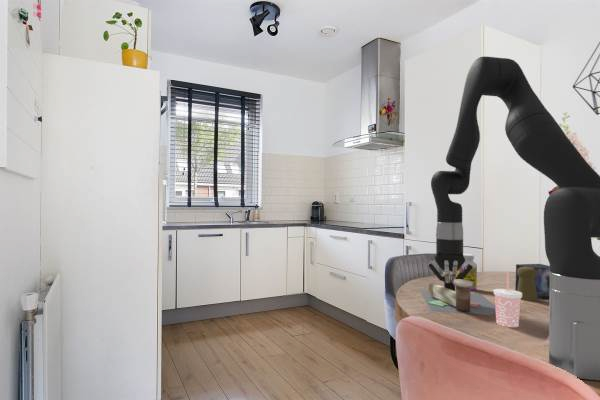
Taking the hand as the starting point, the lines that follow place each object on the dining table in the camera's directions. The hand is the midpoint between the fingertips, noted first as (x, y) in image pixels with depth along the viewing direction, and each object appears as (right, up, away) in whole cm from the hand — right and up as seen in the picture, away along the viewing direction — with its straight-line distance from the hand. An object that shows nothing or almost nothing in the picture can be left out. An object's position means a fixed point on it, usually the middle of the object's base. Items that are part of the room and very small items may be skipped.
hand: (449, 294), depth 109 cm
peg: (-2, -1, -5) cm, 5 cm away
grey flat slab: (+2, -3, -1) cm, 4 cm away
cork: (+25, -4, +4) cm, 26 cm away
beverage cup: (+5, -3, -21) cm, 22 cm away
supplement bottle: (+13, -4, +17) cm, 22 cm away
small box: (+33, -4, +11) cm, 35 cm away
